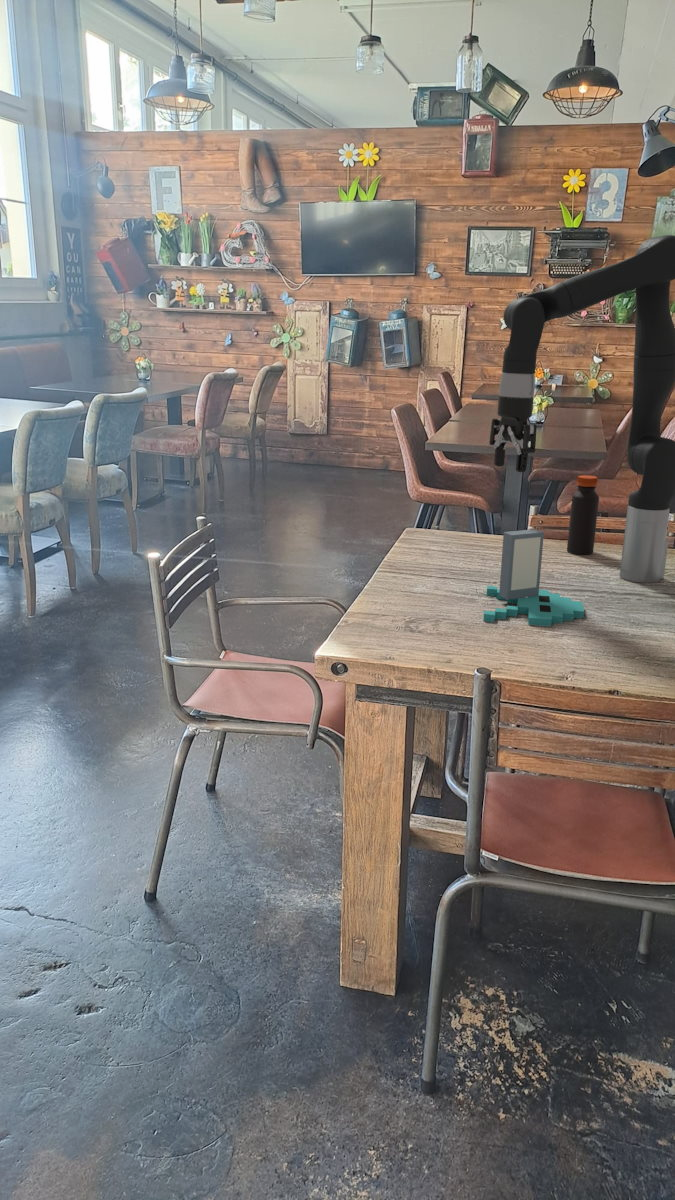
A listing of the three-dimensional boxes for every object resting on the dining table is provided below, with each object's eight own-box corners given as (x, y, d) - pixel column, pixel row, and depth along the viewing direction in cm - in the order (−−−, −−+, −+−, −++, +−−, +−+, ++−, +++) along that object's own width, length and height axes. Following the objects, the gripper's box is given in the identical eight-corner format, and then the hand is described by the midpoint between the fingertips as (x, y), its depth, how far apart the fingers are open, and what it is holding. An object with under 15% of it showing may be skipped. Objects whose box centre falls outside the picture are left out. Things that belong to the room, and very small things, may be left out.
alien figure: (483, 624, 172) (585, 632, 169) (483, 614, 172) (586, 622, 168) (486, 595, 191) (578, 602, 187) (487, 585, 190) (580, 592, 187)
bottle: (597, 554, 224) (606, 478, 218) (574, 555, 222) (581, 479, 216) (585, 548, 230) (593, 474, 224) (562, 549, 229) (569, 474, 222)
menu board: (530, 591, 186) (535, 529, 182) (538, 595, 184) (544, 532, 180) (499, 595, 183) (503, 532, 179) (507, 599, 181) (511, 535, 177)
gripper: (550, 397, 182) (542, 473, 186) (512, 392, 194) (505, 463, 199) (521, 397, 179) (513, 474, 184) (484, 392, 191) (478, 464, 196)
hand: (509, 468), depth 191 cm, fingers open, 8 cm apart
